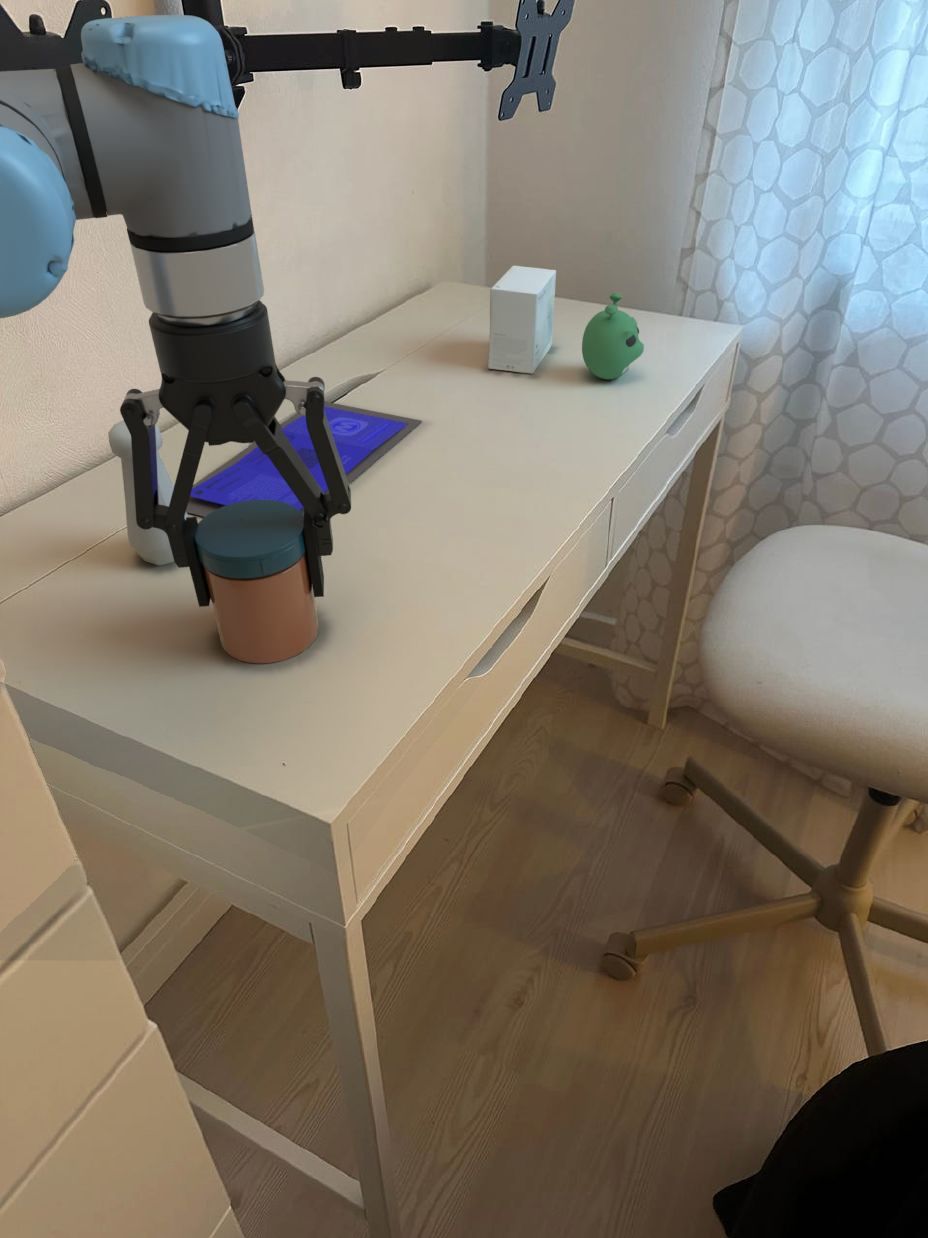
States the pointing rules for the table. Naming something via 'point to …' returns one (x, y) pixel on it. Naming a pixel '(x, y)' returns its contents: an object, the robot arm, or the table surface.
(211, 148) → the robot arm
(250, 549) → the jar lid
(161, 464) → the salt shaker
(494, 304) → the cosmetics box
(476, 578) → the table surface
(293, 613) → the jar
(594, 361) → the alien toy
